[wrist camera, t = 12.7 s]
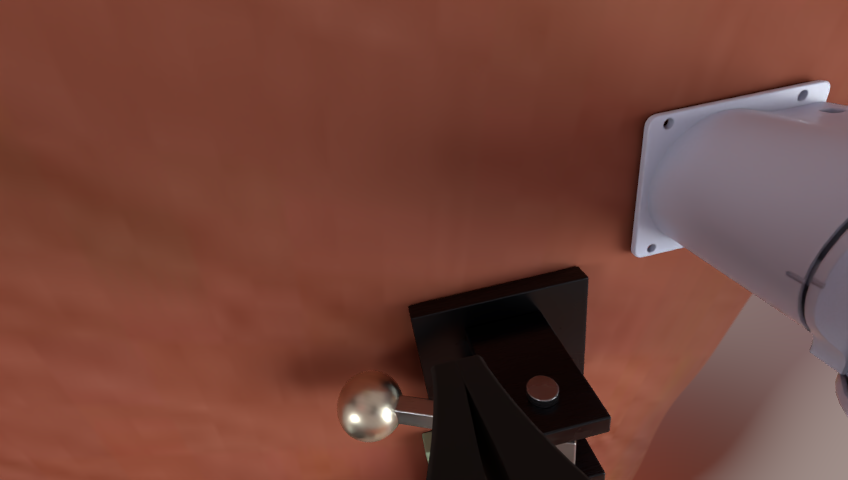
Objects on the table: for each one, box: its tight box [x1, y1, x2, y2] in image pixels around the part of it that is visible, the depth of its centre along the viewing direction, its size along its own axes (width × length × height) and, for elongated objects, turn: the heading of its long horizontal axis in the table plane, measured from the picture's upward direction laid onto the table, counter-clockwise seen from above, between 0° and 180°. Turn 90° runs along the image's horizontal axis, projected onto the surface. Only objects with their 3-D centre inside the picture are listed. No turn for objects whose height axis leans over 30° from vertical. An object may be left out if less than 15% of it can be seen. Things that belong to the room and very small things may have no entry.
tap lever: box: [337, 371, 576, 464], centre depth 21 cm, size 12×4×4 cm, turn 99°
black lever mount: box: [408, 267, 611, 480], centre depth 21 cm, size 10×8×8 cm
